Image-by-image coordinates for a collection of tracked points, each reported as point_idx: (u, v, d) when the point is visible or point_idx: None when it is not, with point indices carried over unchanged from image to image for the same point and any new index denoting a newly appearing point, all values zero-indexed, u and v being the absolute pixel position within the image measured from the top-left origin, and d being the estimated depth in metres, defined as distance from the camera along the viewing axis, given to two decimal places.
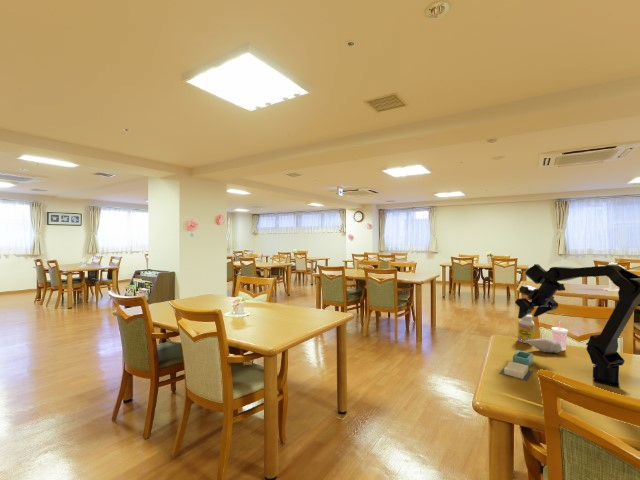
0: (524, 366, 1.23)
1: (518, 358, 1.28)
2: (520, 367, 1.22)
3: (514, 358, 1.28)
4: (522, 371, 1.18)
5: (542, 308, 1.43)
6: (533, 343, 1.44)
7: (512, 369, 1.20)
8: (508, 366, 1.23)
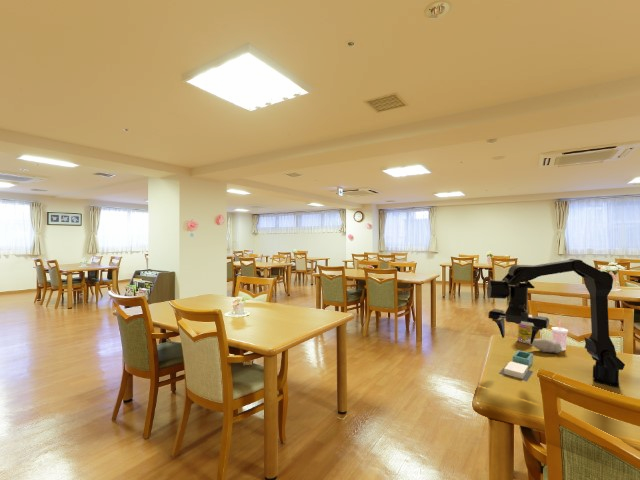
0: (524, 366, 1.23)
1: (518, 358, 1.28)
2: (520, 367, 1.22)
3: (514, 358, 1.28)
4: (522, 371, 1.18)
5: (503, 323, 1.25)
6: (533, 343, 1.44)
7: (512, 369, 1.20)
8: (508, 366, 1.23)
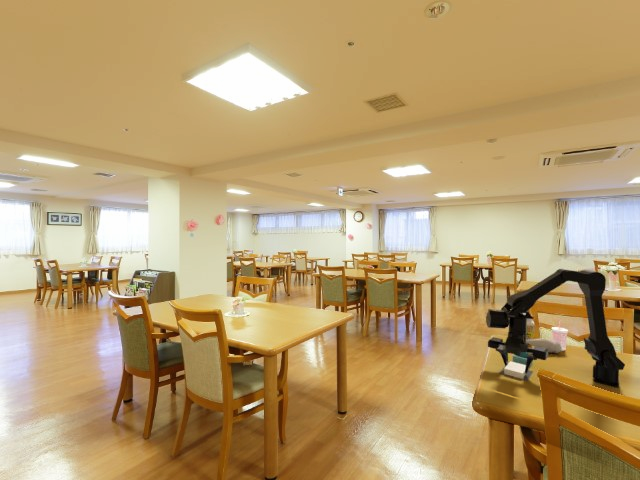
0: (524, 366, 1.23)
1: (518, 358, 1.28)
2: (520, 367, 1.22)
3: (514, 358, 1.28)
4: (522, 371, 1.18)
5: (506, 353, 1.25)
6: (533, 343, 1.44)
7: (512, 369, 1.20)
8: (508, 366, 1.23)
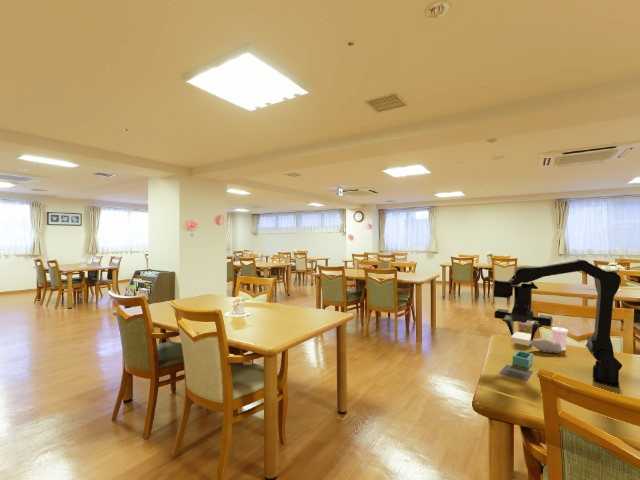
0: (529, 335, 1.28)
1: (518, 358, 1.28)
2: (526, 336, 1.27)
3: (514, 358, 1.28)
4: (528, 339, 1.23)
5: (512, 323, 1.30)
6: (533, 343, 1.44)
7: (518, 337, 1.25)
8: (514, 335, 1.28)
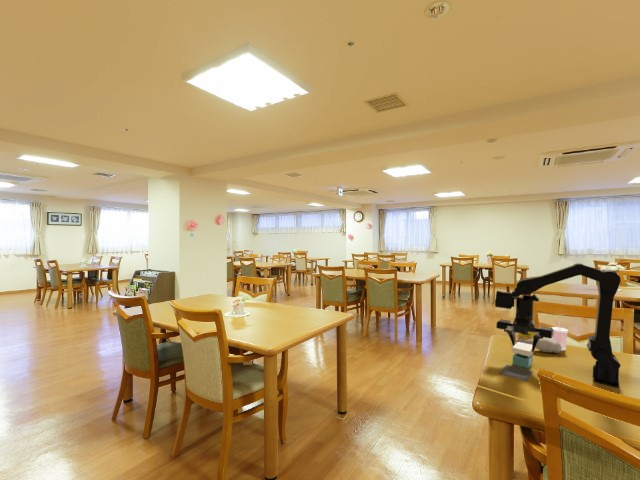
0: (531, 345, 1.31)
1: (518, 358, 1.28)
2: (527, 346, 1.30)
3: (514, 358, 1.28)
4: (529, 350, 1.26)
5: (514, 333, 1.33)
6: None
7: (520, 348, 1.28)
8: (516, 345, 1.30)
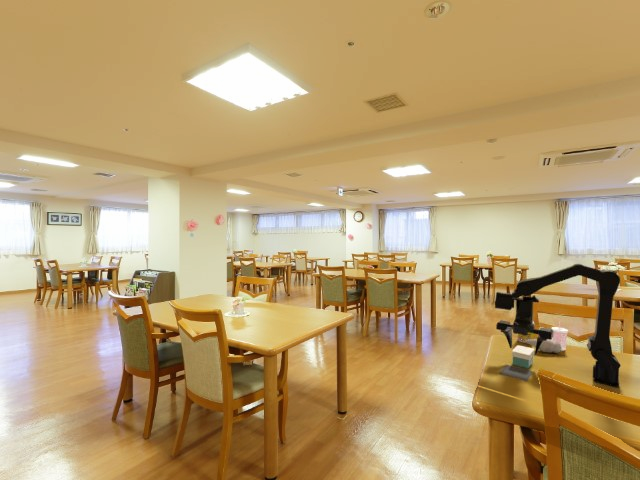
0: (531, 349, 1.31)
1: (518, 358, 1.28)
2: (527, 350, 1.30)
3: (514, 358, 1.28)
4: (529, 353, 1.26)
5: (510, 334, 1.33)
6: (533, 343, 1.44)
7: (519, 351, 1.28)
8: (515, 349, 1.30)
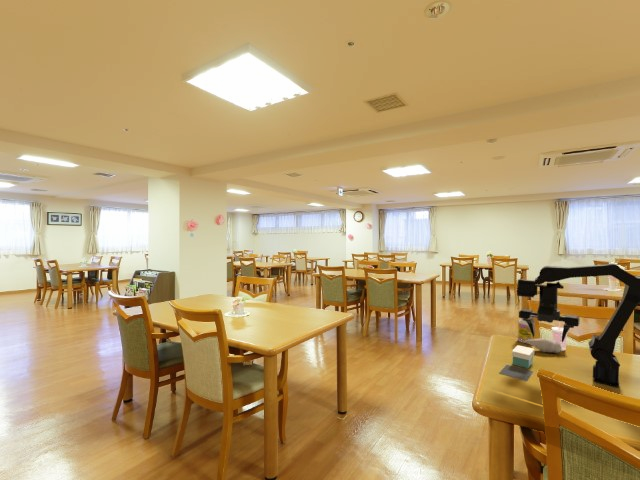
0: (531, 349, 1.31)
1: (518, 358, 1.28)
2: (527, 350, 1.30)
3: (514, 358, 1.28)
4: (529, 353, 1.26)
5: (533, 322, 1.29)
6: (533, 343, 1.44)
7: (519, 351, 1.28)
8: (515, 349, 1.30)
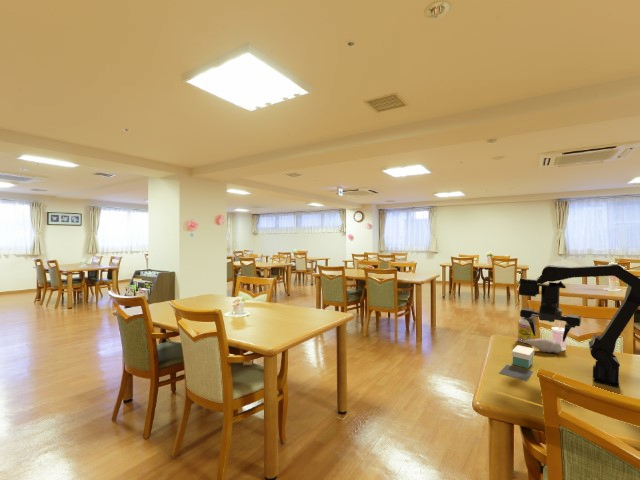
0: (531, 349, 1.31)
1: (518, 358, 1.28)
2: (527, 350, 1.30)
3: (514, 358, 1.28)
4: (529, 353, 1.26)
5: (534, 321, 1.29)
6: (533, 343, 1.44)
7: (519, 351, 1.28)
8: (515, 349, 1.30)
